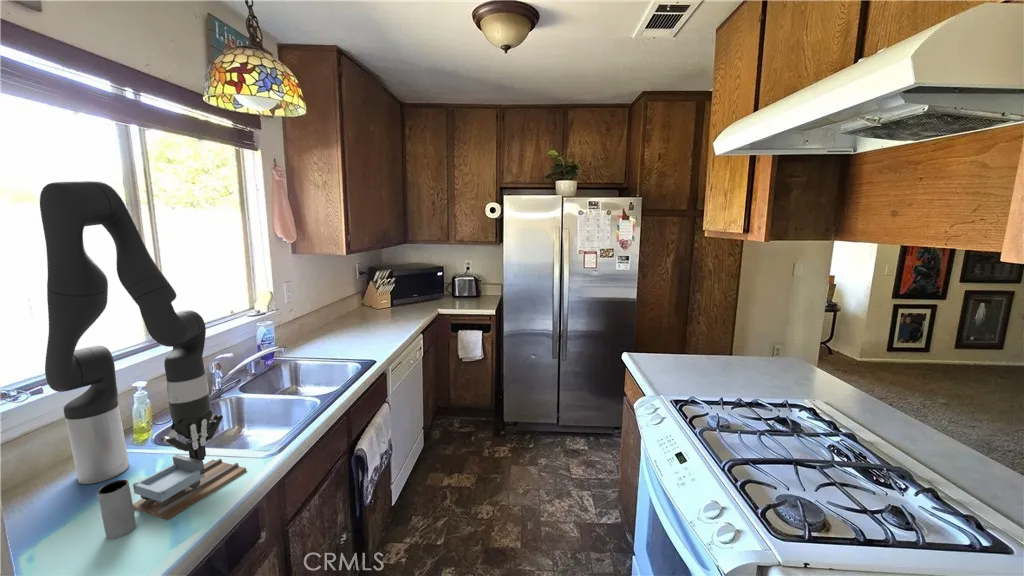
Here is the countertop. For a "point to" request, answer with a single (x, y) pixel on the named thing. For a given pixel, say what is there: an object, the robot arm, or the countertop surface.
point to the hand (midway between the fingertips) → (198, 460)
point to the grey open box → (171, 480)
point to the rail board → (193, 490)
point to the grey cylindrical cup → (117, 508)
